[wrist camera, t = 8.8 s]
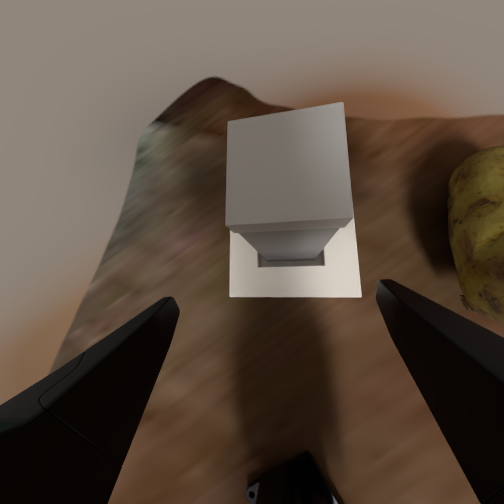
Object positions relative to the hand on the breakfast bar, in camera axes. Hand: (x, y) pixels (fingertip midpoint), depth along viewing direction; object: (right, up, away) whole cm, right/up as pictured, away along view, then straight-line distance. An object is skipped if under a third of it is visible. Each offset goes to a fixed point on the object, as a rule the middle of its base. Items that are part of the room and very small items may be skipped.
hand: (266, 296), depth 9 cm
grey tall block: (+3, +3, +11) cm, 12 cm away
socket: (+3, +3, +11) cm, 12 cm away
